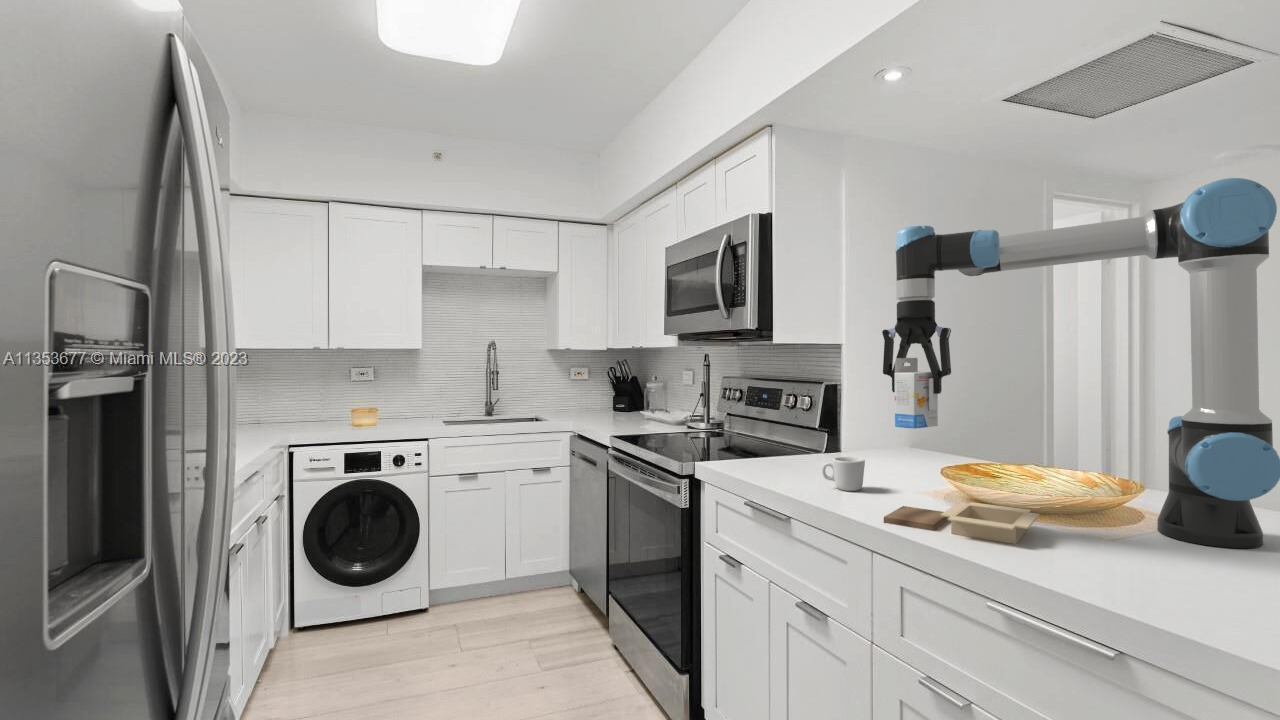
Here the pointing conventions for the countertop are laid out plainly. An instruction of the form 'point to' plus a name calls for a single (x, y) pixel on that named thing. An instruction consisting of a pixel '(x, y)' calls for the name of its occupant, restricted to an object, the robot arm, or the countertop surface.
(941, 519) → the walnut board
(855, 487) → the cup
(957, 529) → the beige tray
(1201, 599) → the countertop surface
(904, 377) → the ink box
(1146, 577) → the countertop surface
